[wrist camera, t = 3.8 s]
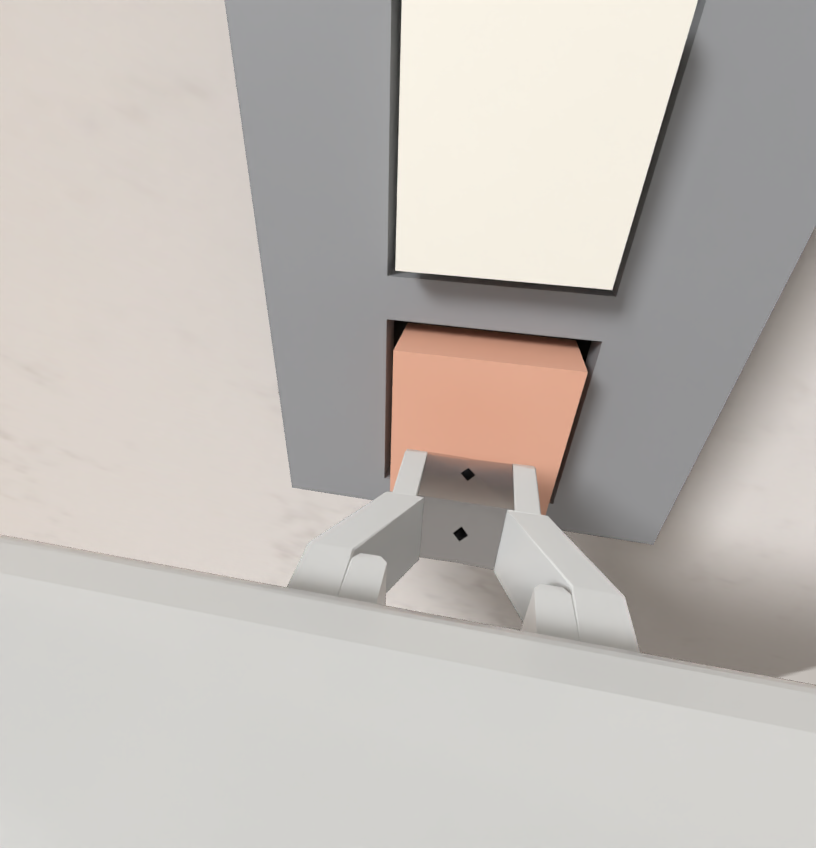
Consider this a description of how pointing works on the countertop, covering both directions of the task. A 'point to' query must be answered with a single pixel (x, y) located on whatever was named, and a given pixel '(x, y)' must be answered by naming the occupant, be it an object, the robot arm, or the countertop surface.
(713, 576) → the countertop surface
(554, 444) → the key terracotta
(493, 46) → the key cream
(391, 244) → the grey button panel
